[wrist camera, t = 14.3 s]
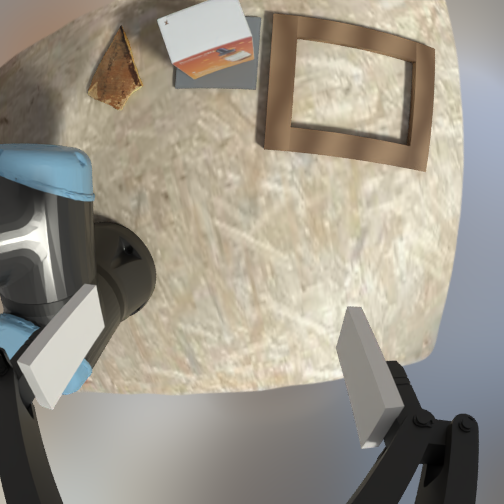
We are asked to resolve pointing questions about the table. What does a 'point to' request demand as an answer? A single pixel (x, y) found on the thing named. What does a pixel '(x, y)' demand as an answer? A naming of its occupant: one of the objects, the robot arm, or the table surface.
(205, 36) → the small box
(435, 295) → the table surface
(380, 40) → the wooden picture frame
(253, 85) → the pad
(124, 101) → the shard
